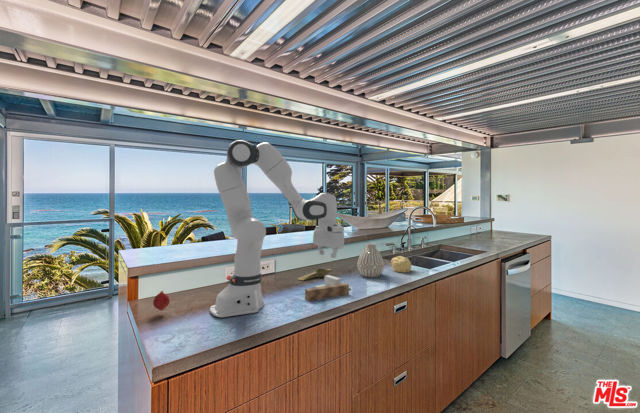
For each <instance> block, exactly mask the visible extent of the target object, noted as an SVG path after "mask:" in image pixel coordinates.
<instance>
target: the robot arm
mask: <svg viewBox="0 0 640 413" xmlns="http://www.w3.org/2000/svg"><path fill="white" fill-rule="evenodd" d="M252 164H253V165H255V166H257V167H258V168H259V169H260V170H261V171H262V172H263V173H264V175H265V176H266V177H267V178H268V180H270V181H271V183H273V184H274V185H275V187H276V188H277V189H278V190H279V191H280V192H281V194H283V196H284V197H285V199H286V200H287V202H288V203H289V204H290V206H291V208H292V213H293V215H294V216H295V218H296V219H298V220H299V221H313V222H314V221H316V220H318V223H317V224H318V225H316V226H315V228H314V231H313V237H312V244H313V245H315V246H317V248H318V251H319V253H318V254H319V255H320V256H324V255H325V251H324V248H323V247H326V248H331V249H332V253H331V254H330V258H334V259H335V258H337V253H338V251H339V250H340V249H343V248H344V246H345V234H344V231H345V227H344V226H343V225H341V224H339V223H338V219H337V213H338V204H337V198H336V195H334V193H333V194H332V193H330V192H329V193H328V192H320V193H319V194H318V195H316V196H314V197H312V198H310V199H305V198H303V197H302V196H301V195H300V192H299V191H298V190H297V188H296V187H295V186H294V184H293V182H292V174H293V170H292V168H291V166H290V164H289V163H288V161H287V160H286V158H285V157H284V156H283V155H282V154H281V153H280V151H278V149H276V147H274V146H273V145H272V144H270V143H269V142H264V141H263V142H261V143H259V144H258V145H255V144H253V143H251V142H249V141H247V140H242V139H241V140H240V139H238V140H237V139H236V140H234V141H233V142H231V143H230V145H229V146H228V148H227V150H226V161H224V162H221V163H219V164H218V165H216V166H215V168H214V170H213V175H214V181H215V185H216V188H217V190H218V193H219V196H220V198H221V202H222V204H223V206H224V209H225V213H226V217H227V221H228V225H229V227H230V231H231V234H232V236H233V237H234V238H235V239H236V240H237V242H236V243H237V244H236V245H237V246H236V249H235V250H236V251H235V254H234V258H233V259H234V274H233V275H230V274H228V275H227V276H226V280H227V281H229V284H228V285H227V286H226V287H225V288H223V289H222V290H221V291H220V292H219V293H218V294H217V295H216V300H215V303H214V304H213V305H211V306H210V307H209V312H210V313H211V314H212V316H215V317H218V318H227V317H234V316H239V315H247V314H254V313H258V312H259V311H260V309H262V308H264V306H265V303H264V300H263V295H262V282H263V281H262V279H263V278H262V272H261V256H262V255H261V254H262V250H263V244H264V243H263V242H264V239H265V237H266V235H267V229H266V226H265V224H264V223H263V222H262V221H261V220H260V219H258V218H255V217H254V215H253V212H252V206H251V203H252V202H251V199H250V195H249V193H248V190H247V188H246V185H245V182H244V180H243V177H242V170H243V169H244V168H247V167H248V166H249V165H252Z"/></svg>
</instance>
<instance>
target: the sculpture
mask: <svg viewBox="0 0 640 413" xmlns="http://www.w3.org/2000/svg"><path fill="white" fill-rule="evenodd" d="M390 264H391V267H392V269H393V272H397V273H409V272H411V270H412V263H411V261H410V259H409V258H407V257H405V256H402V255H398V256H395V257H392V258H391V260H390Z"/></svg>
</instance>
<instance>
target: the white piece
mask: <svg viewBox="0 0 640 413" xmlns="http://www.w3.org/2000/svg"><path fill="white" fill-rule="evenodd" d="M323 278H324V281H323V282H324V283H323V284H319V285H314V286H313V288H315V287H322V286H328V285H335V284H342V281H341V280H342V278H340V277H336V276H334V275H330V274H328V275H327V274H326V275H325V276H323ZM349 290H352V287H350V286H349Z"/></svg>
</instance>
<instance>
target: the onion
mask: <svg viewBox="0 0 640 413" xmlns="http://www.w3.org/2000/svg"><path fill="white" fill-rule="evenodd" d="M152 304H153V307H154V308H155V309H157V310H158V311H164V310H165V309H166V308H167V307H168V306H169V304H170V297H169V295H167V294H166V293H165V292H164V291H163V290H161V291H160V292H159V293H157V295H156V296H155V297H154V299H153V302H152Z"/></svg>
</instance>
